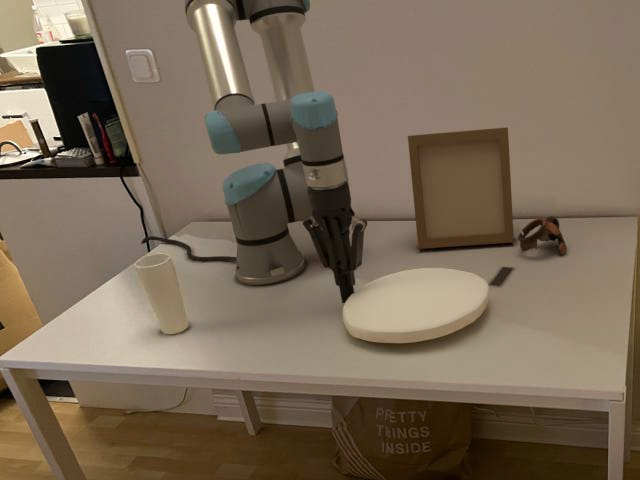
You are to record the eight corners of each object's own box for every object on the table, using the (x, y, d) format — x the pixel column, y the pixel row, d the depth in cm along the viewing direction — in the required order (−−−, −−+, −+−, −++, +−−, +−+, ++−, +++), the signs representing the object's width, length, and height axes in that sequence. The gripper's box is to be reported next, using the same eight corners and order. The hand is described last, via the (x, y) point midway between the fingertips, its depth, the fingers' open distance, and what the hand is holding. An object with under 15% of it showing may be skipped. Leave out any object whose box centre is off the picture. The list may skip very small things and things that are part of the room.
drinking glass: (165, 321, 146) (142, 254, 139) (197, 319, 146) (175, 251, 138) (153, 338, 141) (127, 268, 133) (186, 336, 140) (163, 266, 132)
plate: (324, 332, 126) (355, 269, 148) (335, 363, 129) (363, 297, 151) (481, 311, 120) (488, 248, 143) (488, 343, 124) (494, 277, 146)
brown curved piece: (563, 263, 153) (542, 234, 149) (528, 275, 159) (507, 247, 155) (578, 229, 160) (558, 200, 156) (544, 241, 166) (524, 214, 162)
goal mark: (490, 284, 146) (490, 283, 146) (503, 268, 152) (503, 266, 152) (500, 285, 146) (500, 284, 145) (512, 268, 152) (512, 267, 152)
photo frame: (514, 246, 162) (508, 134, 149) (418, 252, 164) (404, 143, 151) (512, 222, 174) (507, 117, 161) (424, 228, 176) (411, 125, 163)
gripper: (285, 189, 129) (311, 305, 141) (348, 192, 124) (368, 312, 136) (308, 176, 135) (330, 289, 147) (368, 178, 130) (386, 295, 142)
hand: (348, 300), depth 141 cm, fingers closed
